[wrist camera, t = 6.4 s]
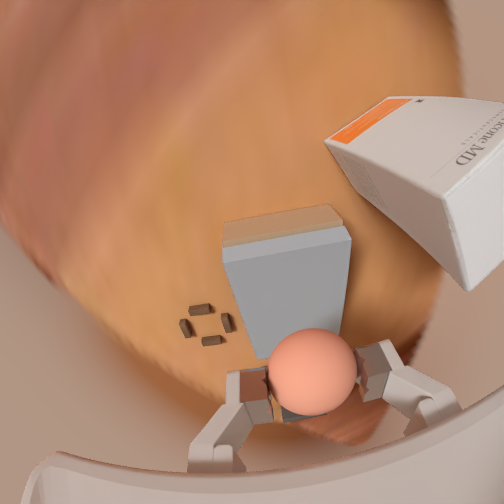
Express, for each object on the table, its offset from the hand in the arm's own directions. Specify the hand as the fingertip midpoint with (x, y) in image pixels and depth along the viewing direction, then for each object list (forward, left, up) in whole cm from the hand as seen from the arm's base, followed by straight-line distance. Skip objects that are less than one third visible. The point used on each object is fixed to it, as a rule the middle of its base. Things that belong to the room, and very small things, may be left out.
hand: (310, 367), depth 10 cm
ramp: (+3, 0, -10) cm, 11 cm away
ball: (0, 0, -2) cm, 2 cm away
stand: (+5, -7, -10) cm, 13 cm away
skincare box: (-7, +7, -11) cm, 14 cm away
